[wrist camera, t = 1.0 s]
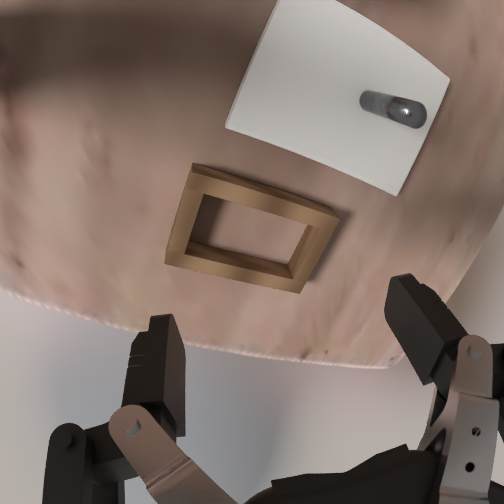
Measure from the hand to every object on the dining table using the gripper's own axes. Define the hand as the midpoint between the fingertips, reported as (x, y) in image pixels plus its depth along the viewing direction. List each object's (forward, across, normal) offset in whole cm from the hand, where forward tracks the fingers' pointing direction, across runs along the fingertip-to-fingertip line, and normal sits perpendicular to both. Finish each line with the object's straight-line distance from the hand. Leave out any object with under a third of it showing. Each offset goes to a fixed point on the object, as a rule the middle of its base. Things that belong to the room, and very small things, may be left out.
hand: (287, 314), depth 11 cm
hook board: (+19, -10, -6) cm, 23 cm away
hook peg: (+18, -12, -5) cm, 22 cm away
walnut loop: (+19, 0, +6) cm, 20 cm away
